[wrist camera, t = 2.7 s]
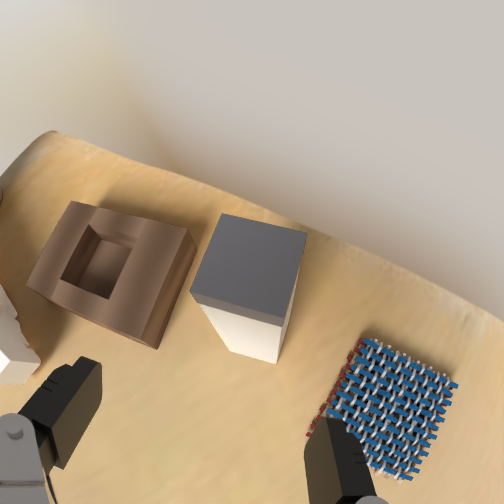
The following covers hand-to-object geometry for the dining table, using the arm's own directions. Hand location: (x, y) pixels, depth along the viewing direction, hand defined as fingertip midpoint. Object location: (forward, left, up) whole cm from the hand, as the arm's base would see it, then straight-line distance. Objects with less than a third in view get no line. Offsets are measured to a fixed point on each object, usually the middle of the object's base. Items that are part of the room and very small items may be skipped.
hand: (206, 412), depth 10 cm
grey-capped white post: (0, +6, -15) cm, 16 cm away
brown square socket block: (-15, +8, -15) cm, 23 cm away
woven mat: (+12, +2, -16) cm, 20 cm away
